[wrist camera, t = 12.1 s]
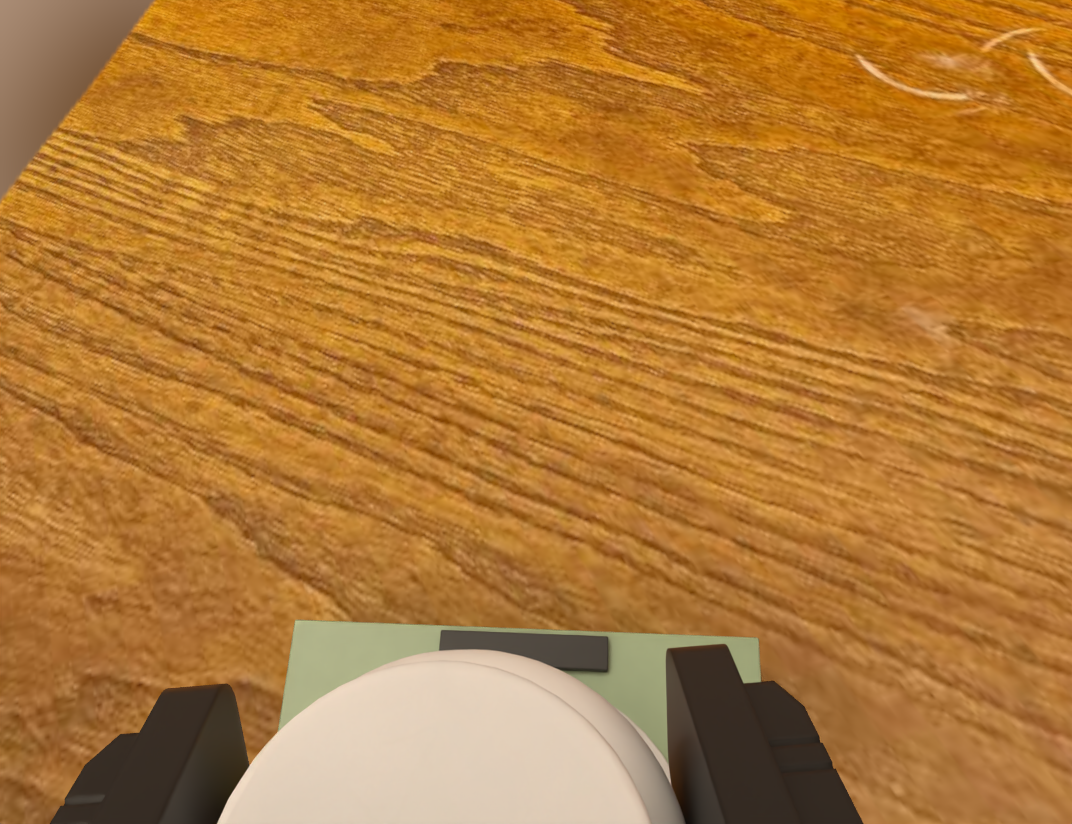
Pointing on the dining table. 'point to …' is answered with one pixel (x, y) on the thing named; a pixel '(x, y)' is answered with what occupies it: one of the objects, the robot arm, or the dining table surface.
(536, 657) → the scale
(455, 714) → the supplement bottle
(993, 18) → the dining table surface
